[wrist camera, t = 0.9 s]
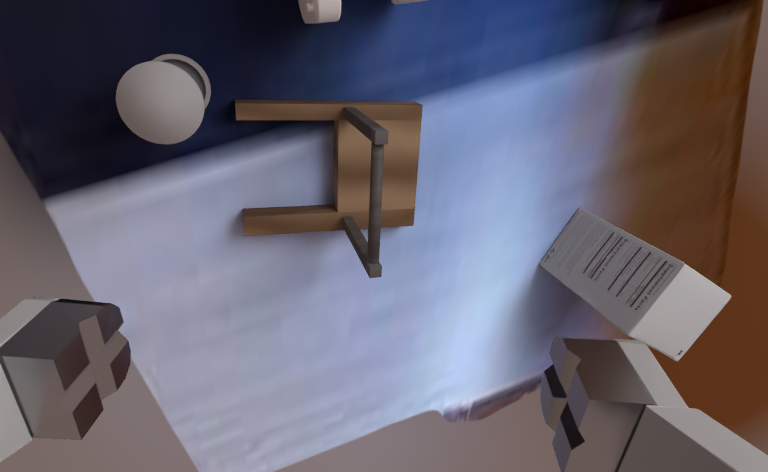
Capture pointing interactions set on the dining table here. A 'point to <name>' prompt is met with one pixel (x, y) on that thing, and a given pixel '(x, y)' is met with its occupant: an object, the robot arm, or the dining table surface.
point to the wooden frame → (351, 171)
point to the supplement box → (634, 284)
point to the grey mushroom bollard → (164, 98)
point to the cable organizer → (327, 10)
